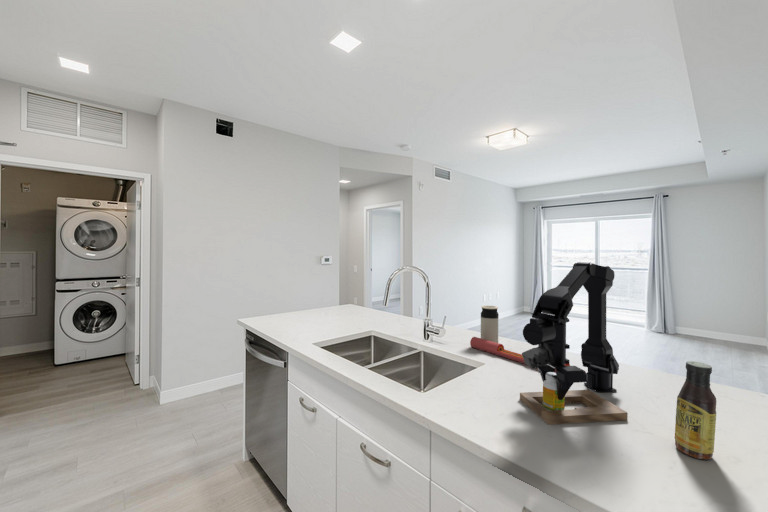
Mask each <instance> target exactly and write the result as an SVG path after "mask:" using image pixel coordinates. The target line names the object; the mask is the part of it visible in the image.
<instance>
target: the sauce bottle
mask: <svg viewBox="0 0 768 512" xmlns="http://www.w3.org/2000/svg"><path fill="white" fill-rule="evenodd" d="M685 369H686V373H685V374H686V376H685V381H684V383H683V384H682V387H681V389H680V391H679V393H678V395H677V397H676V407H675V426H674V427H675V428H674V441H675V442H674V445H675V447H676V449H677V450H678V451H679V452H681V453H683V454H685V455H687V456H690V457H692V458H694V459H698V460H706V461H707V460H710V459H712V458H713V456H714V455H713V454H714V452H715V438H716V437H715V436H716V424H717V423H716V421H717V410H716V409H717V398H716V396H715V393H714V392H713V391H712V389H711V382H710V381H711V374H712V373H713V367H712V366H711V365H709V364H708V363H704V362H701V361H693V360H689V361H686V363H685Z"/></svg>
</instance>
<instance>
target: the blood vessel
mask: <svg viewBox="0 0 768 512" xmlns="http://www.w3.org/2000/svg"><path fill="white" fill-rule="evenodd" d="M469 342H470V343H469V344H470V347H471V348H473V347H474V348H473V349H476V348H477V349H476V350H479V349H480V350H479V351H482V350H483V352H485V351H486V352H485V353H489V354H492V355H495V354H496V356H498V355H499V356H498V357H501V356H502V358H504V357H505V359H508V360H512V361H514V362H518V363H520V362H521V364H524V365H526V364H525V362H524V359H523V356H522V353H517V352H514V351H511V350H508V349H505V346H504V345H503V344H502V343H499V342H498V343H495V342H492V341H488V340H485V339H481V337H477V336H472V337H471V338H470V341H469ZM564 366H571V364H570V363H569V364H565V365H564ZM555 373H556V369H555Z"/></svg>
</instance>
